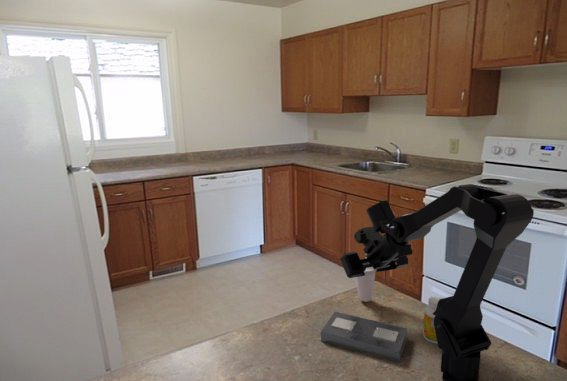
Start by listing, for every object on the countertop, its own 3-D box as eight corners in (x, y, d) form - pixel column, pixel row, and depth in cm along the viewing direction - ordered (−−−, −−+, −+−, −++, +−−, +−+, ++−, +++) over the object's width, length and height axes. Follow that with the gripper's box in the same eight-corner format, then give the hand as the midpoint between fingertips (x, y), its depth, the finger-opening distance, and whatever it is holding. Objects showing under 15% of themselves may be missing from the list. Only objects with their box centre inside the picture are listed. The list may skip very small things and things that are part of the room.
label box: (406, 337, 90) (407, 327, 89) (398, 362, 81) (399, 350, 80) (334, 320, 98) (335, 310, 97) (320, 340, 89) (320, 330, 88)
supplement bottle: (422, 329, 93) (425, 293, 91) (446, 333, 91) (449, 296, 89) (423, 342, 88) (425, 303, 86) (448, 346, 86) (451, 307, 84)
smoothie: (374, 305, 103) (374, 257, 100) (351, 301, 105) (350, 255, 102) (378, 294, 108) (378, 249, 105) (356, 291, 111) (355, 246, 108)
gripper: (403, 216, 102) (377, 243, 114) (344, 224, 95) (323, 252, 107) (422, 252, 96) (393, 277, 109) (361, 264, 89) (337, 289, 102)
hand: (361, 272), depth 107 cm, fingers closed on smoothie, 6 cm apart
